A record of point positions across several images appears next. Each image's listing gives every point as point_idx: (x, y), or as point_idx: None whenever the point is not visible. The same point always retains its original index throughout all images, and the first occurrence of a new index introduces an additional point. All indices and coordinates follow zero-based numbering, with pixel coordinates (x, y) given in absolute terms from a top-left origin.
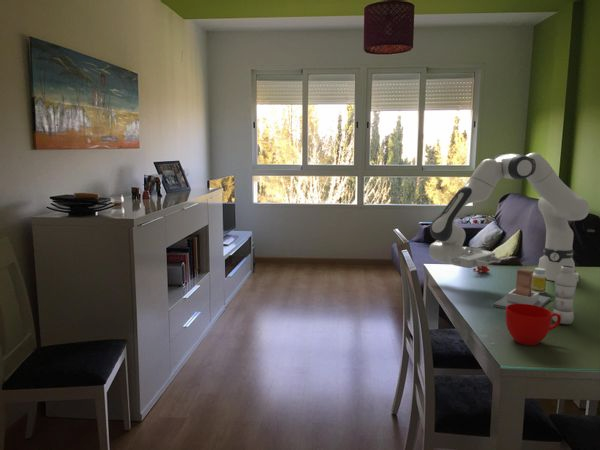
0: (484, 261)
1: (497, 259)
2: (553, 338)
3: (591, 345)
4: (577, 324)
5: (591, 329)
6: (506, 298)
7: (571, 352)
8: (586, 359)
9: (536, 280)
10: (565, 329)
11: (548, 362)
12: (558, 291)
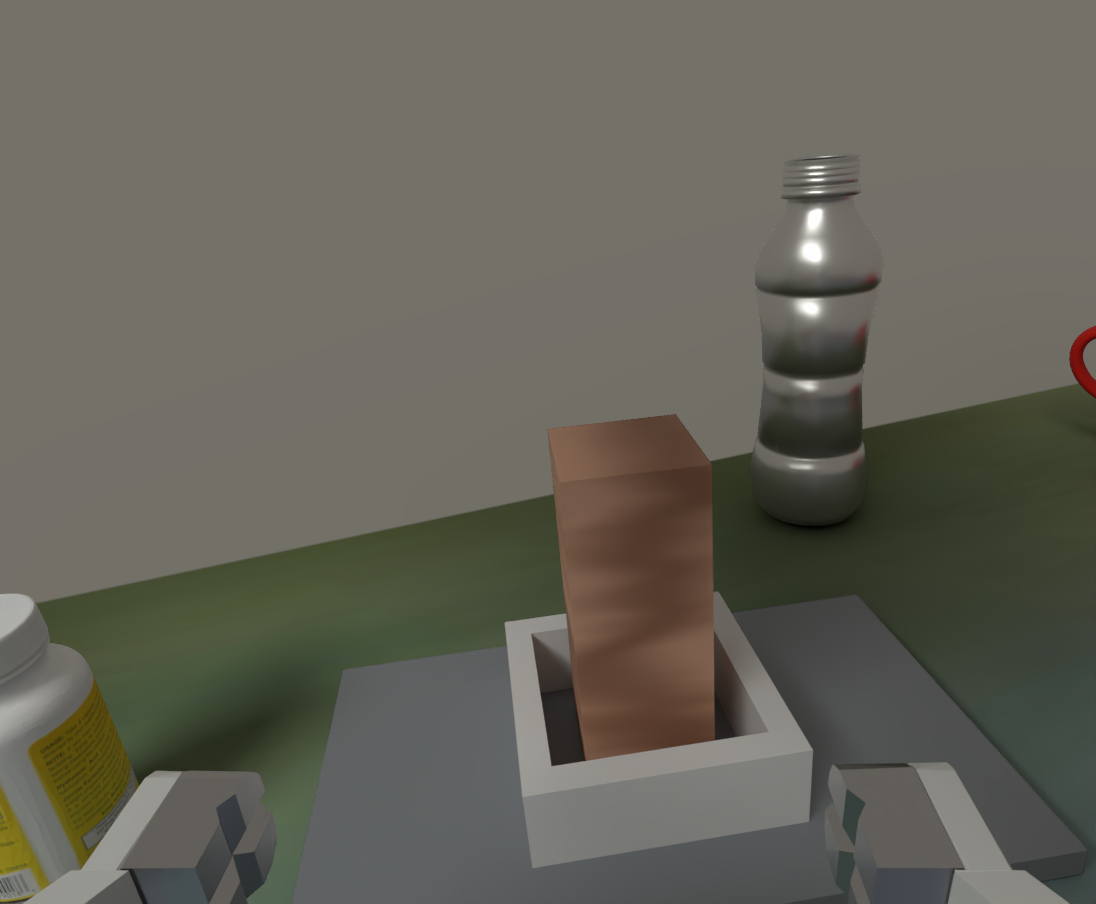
0: (931, 847)
1: (240, 815)
2: (1055, 467)
3: (933, 418)
4: (742, 488)
5: (748, 458)
6: (734, 866)
7: (1092, 416)
8: (1078, 394)
9: (95, 733)
10: (876, 484)
11: None
12: (870, 325)
